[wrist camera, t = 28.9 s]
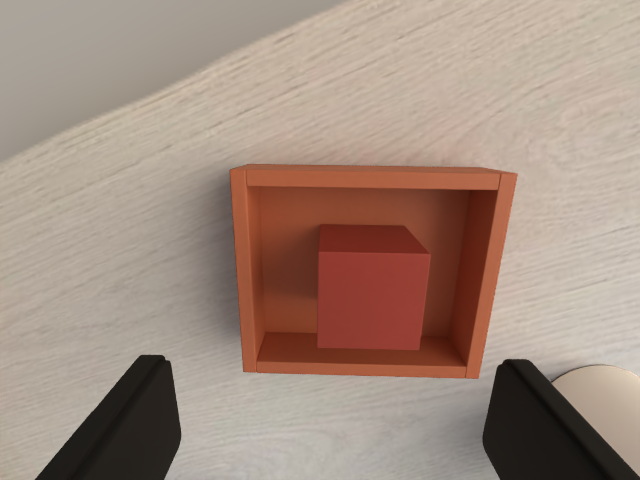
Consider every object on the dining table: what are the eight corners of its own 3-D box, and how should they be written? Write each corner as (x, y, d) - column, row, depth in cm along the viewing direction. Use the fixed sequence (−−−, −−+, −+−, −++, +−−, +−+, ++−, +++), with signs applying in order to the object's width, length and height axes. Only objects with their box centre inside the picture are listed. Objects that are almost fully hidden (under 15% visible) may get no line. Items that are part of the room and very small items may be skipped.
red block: (319, 299, 21) (316, 348, 16) (320, 223, 19) (317, 251, 14) (398, 301, 20) (419, 350, 16) (405, 225, 19) (431, 253, 14)
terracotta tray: (256, 336, 22) (242, 372, 19) (247, 164, 19) (228, 169, 15) (455, 341, 22) (478, 379, 18) (482, 167, 18) (518, 173, 15)
